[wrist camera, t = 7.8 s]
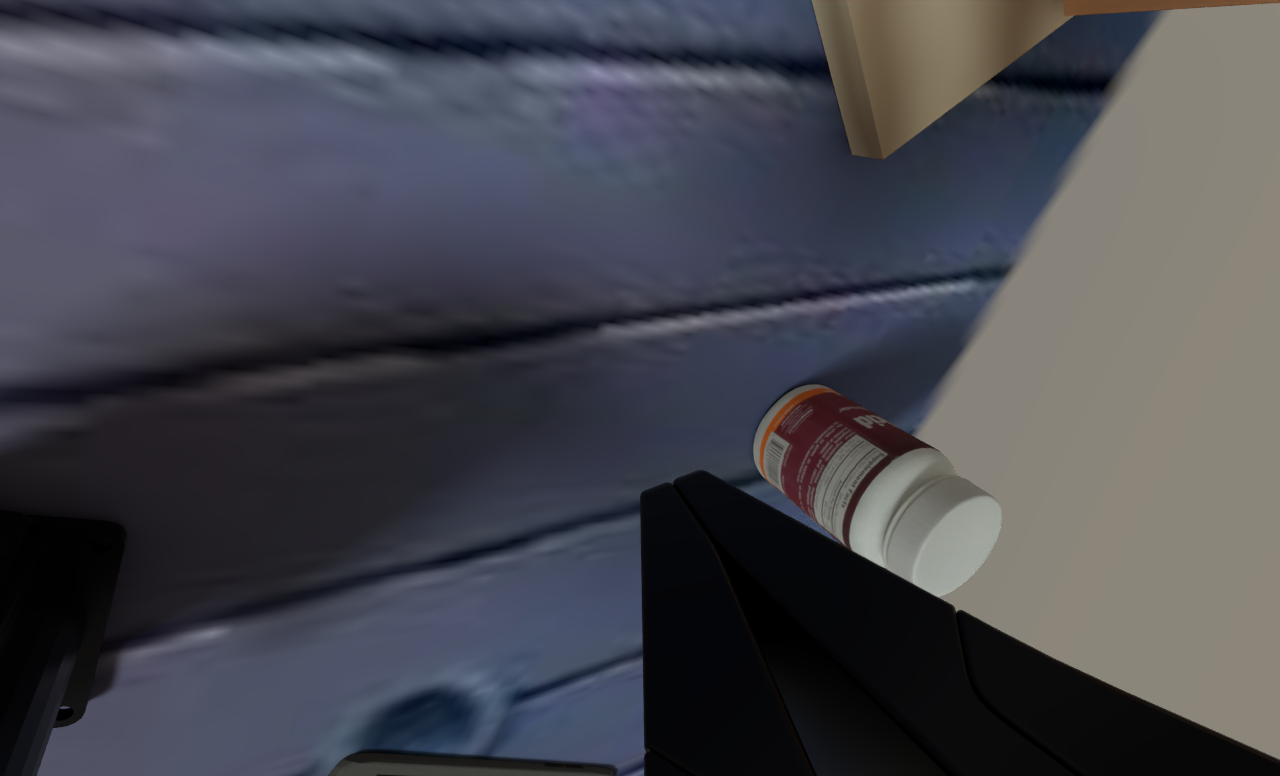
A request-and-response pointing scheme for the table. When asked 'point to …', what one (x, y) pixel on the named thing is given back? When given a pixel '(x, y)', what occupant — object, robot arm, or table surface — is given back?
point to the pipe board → (920, 58)
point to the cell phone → (453, 767)
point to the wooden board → (1145, 5)
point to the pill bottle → (877, 488)
